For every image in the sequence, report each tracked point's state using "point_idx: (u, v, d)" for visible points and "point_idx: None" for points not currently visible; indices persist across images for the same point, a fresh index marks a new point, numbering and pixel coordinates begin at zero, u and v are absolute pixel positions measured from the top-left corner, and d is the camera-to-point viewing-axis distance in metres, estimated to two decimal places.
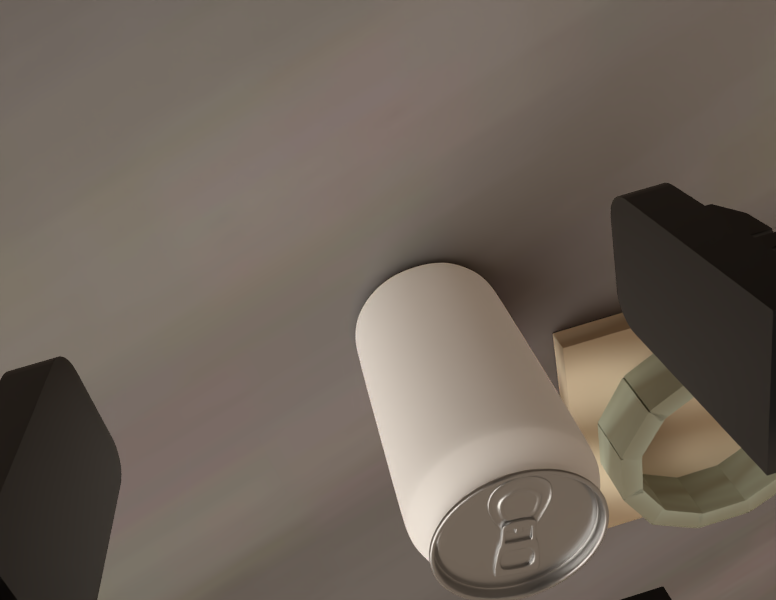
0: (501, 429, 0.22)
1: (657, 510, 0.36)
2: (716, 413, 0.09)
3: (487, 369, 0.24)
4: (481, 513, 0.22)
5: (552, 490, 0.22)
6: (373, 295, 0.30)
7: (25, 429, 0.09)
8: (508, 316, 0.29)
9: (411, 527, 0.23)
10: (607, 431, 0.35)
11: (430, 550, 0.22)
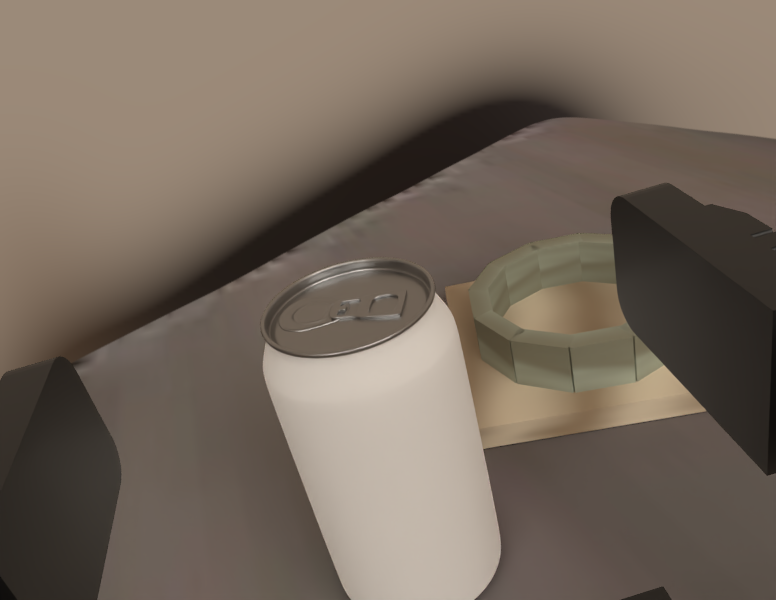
0: None
1: None
2: (716, 413, 0.09)
3: None
4: (306, 333, 0.23)
5: (309, 297, 0.25)
6: (351, 599, 0.28)
7: (25, 428, 0.09)
8: None
9: (335, 395, 0.21)
10: (568, 377, 0.33)
11: (315, 355, 0.21)
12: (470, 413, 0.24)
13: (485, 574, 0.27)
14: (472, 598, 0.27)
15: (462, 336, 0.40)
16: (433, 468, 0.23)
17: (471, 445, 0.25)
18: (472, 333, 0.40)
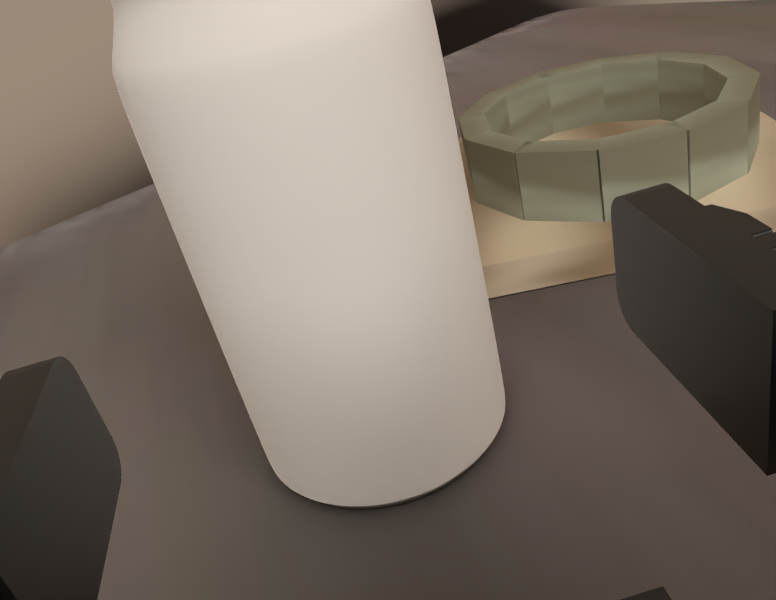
0: None
1: (715, 104, 0.24)
2: (716, 413, 0.09)
3: None
4: None
5: None
6: (280, 477, 0.18)
7: (25, 429, 0.09)
8: None
9: (210, 49, 0.12)
10: (595, 198, 0.24)
11: None
12: (454, 148, 0.15)
13: (482, 430, 0.17)
14: (462, 466, 0.17)
15: None
16: (392, 216, 0.14)
17: (457, 201, 0.15)
18: None
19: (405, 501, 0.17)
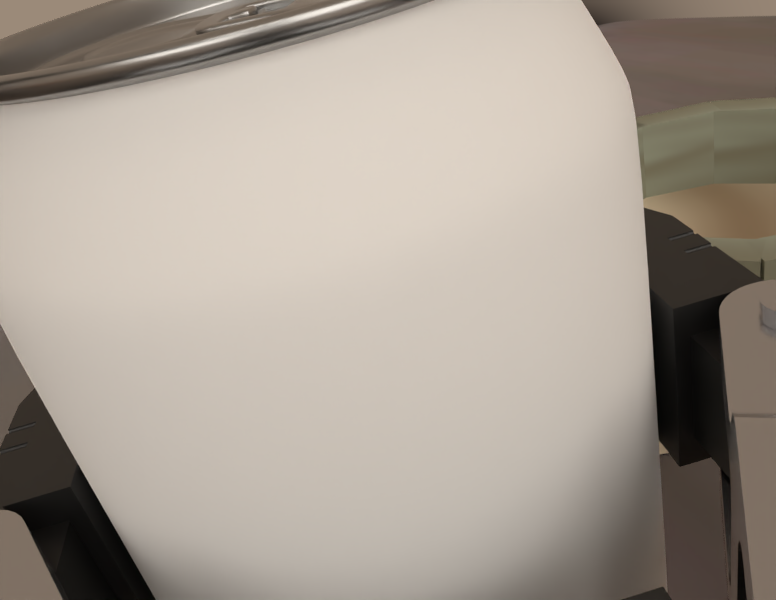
0: None
1: None
2: None
3: None
4: None
5: (156, 25, 0.08)
6: None
7: None
8: None
9: (166, 265, 0.05)
10: None
11: (65, 72, 0.05)
12: (654, 372, 0.08)
13: None
14: None
15: None
16: (560, 558, 0.07)
17: (656, 471, 0.08)
18: None
19: None
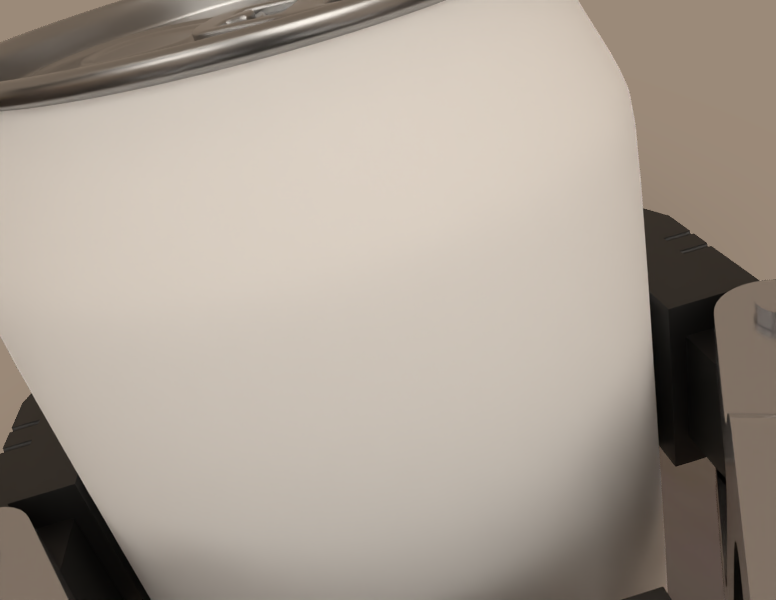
0: None
1: None
2: None
3: None
4: None
5: (153, 29, 0.08)
6: None
7: None
8: None
9: (161, 273, 0.05)
10: None
11: (60, 80, 0.05)
12: (654, 377, 0.08)
13: None
14: None
15: None
16: (559, 565, 0.07)
17: (656, 476, 0.08)
18: None
19: None
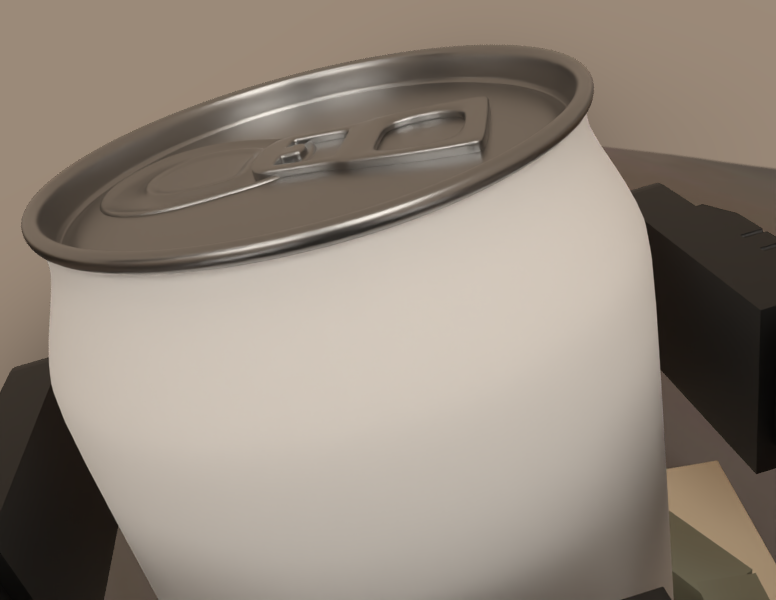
0: None
1: None
2: (706, 412, 0.09)
3: None
4: (168, 217, 0.07)
5: (206, 146, 0.09)
6: None
7: (34, 423, 0.09)
8: None
9: (246, 420, 0.05)
10: None
11: (164, 259, 0.05)
12: None
13: None
14: None
15: None
16: None
17: (668, 560, 0.09)
18: None
19: None
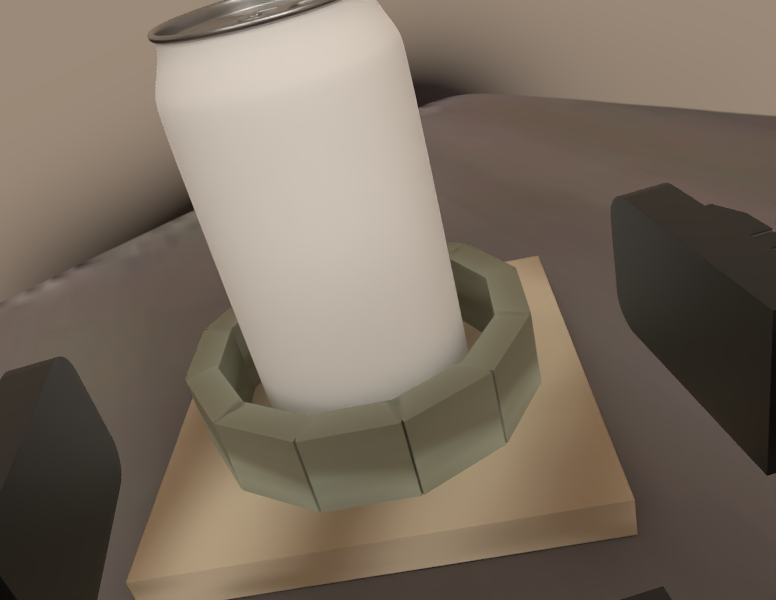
0: None
1: (456, 371, 0.20)
2: (716, 413, 0.09)
3: None
4: None
5: (218, 19, 0.19)
6: None
7: (24, 429, 0.09)
8: None
9: (235, 89, 0.16)
10: (305, 487, 0.20)
11: (208, 31, 0.16)
12: (423, 160, 0.19)
13: None
14: None
15: None
16: (374, 214, 0.18)
17: (426, 202, 0.19)
18: None
19: None
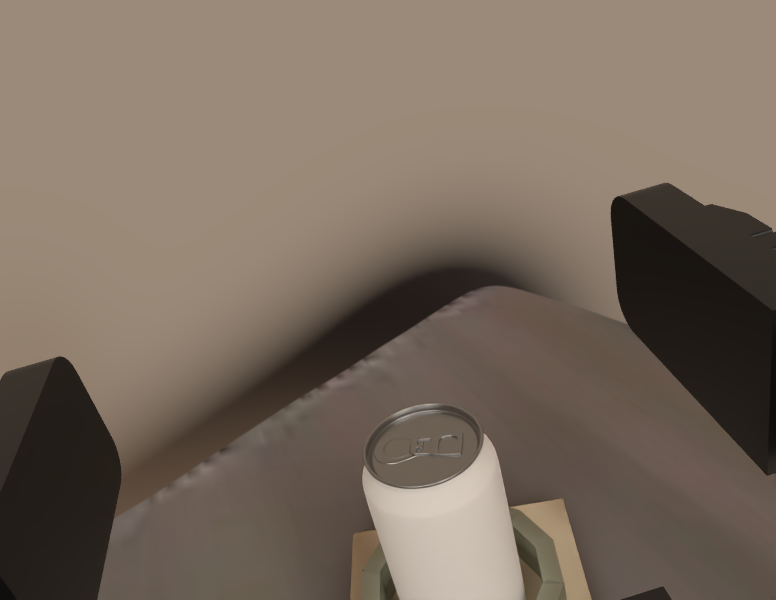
0: None
1: None
2: (716, 413, 0.09)
3: None
4: (396, 466, 0.33)
5: (393, 434, 0.35)
6: None
7: (25, 429, 0.09)
8: None
9: (420, 512, 0.32)
10: None
11: (407, 487, 0.32)
12: (506, 514, 0.35)
13: None
14: None
15: None
16: (484, 556, 0.34)
17: (508, 536, 0.35)
18: None
19: None
